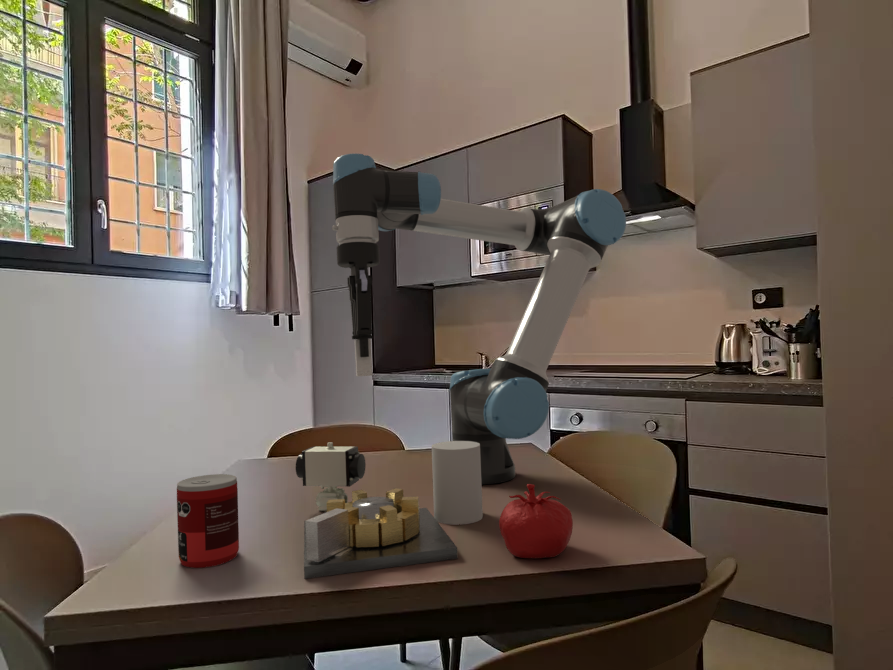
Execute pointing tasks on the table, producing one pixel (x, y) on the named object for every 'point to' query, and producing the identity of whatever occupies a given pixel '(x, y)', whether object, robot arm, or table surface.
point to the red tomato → (535, 525)
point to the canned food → (207, 520)
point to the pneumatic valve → (330, 470)
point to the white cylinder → (457, 482)
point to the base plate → (386, 546)
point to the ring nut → (361, 525)
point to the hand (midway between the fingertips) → (364, 375)
